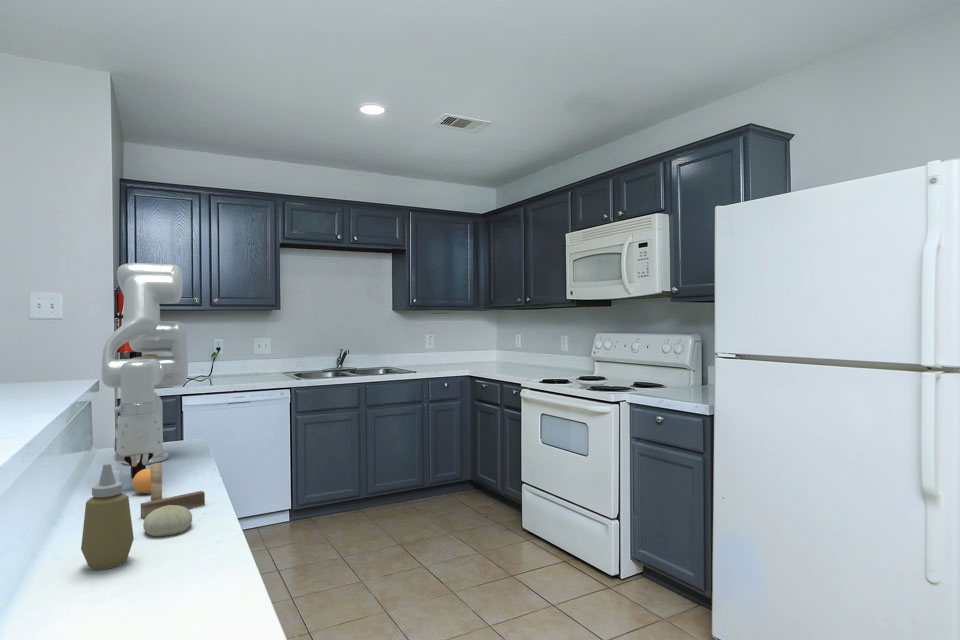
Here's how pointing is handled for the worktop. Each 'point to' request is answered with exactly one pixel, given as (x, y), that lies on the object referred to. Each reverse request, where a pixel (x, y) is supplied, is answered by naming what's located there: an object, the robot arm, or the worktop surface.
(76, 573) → the worktop surface
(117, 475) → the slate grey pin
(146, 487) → the ball
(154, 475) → the maple pin
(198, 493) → the back wall
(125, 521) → the squeeze bottle
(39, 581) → the worktop surface
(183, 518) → the sea urchin shell
